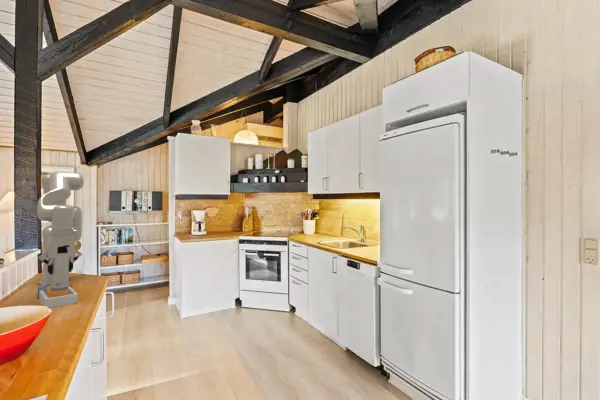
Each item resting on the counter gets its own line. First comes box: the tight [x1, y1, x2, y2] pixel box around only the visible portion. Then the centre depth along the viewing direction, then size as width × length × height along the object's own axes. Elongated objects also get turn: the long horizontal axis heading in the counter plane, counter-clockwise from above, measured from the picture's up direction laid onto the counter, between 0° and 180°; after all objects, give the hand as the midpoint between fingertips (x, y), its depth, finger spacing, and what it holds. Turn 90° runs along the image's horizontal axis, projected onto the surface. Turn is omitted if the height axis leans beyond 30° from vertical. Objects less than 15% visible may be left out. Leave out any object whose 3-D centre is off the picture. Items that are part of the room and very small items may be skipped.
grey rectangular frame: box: [38, 283, 79, 309], centre depth 139 cm, size 18×12×4 cm
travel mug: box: [50, 245, 70, 292], centre depth 137 cm, size 6×7×20 cm
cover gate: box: [36, 283, 48, 300], centre depth 145 cm, size 1×11×5 cm, turn 28°
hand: (60, 272), depth 137 cm, fingers closed on travel mug, 6 cm apart
